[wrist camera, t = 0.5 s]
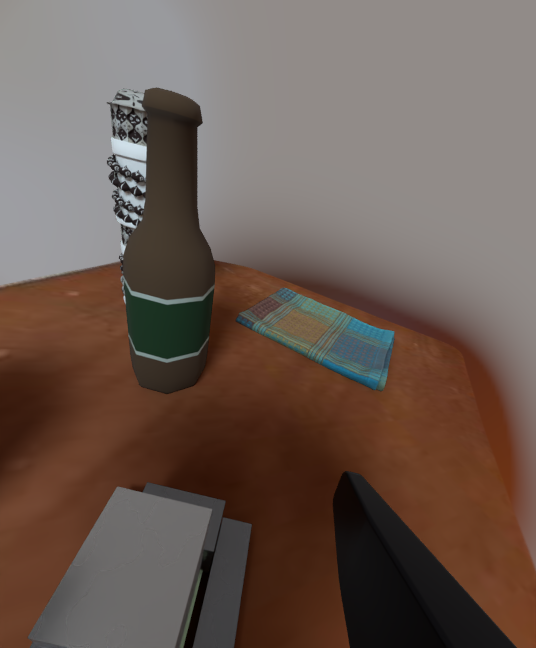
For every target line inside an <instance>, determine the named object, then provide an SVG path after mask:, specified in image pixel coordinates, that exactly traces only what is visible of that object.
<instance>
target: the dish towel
mask: <svg viewBox="0 0 536 648" xmlns="http://www.w3.org/2000/svg"><path fill="white" fill-rule="evenodd" d="M236 322H238V323H240V324H242V325H244V326H246V327H248V328H250V329H251V330H253V331H255V332H257V333H259V334H261V335H263V336H265V337H268V338H270V339H272V340H274V341H276V342H278V343H280V344H282V345H284V346H286V347H287V348H290V349H292V350H294V351H296V352H298V353H299V354H302V355H304V356H305V357H307V358H309V359H311V360H313V361H315V362H317V363H319V364H321V365H323V366H325V367H327V368H328V369H331V370H333V371H335V372H337V373H339V374H341V375H343V376H345V377H347V378H349V379H351V380H354V381H356V382H359V383H361V384H363V385H365V386H367V387H369V388H371V389H373V390H376V389H377V390H380V391H383V389H384V387H385V384H386V380H387V373H388V367H389V362H390V357H391V353H392V347H393V343H394V340H395V338H394V331H389V330H382V329H379V328H376V327H373V326H370V325H368V324H366V323H363V322H361V321H359V320H358V319H355V318H353V317H351V316H349V315H347V314H345V313H343V312H341V311H338V310H336V309H333V308H331V307H328V306H325V305H323V304H321V303H318V302H316V301H314V300H313V299H310V298H307V297H305V296H302V295H300V294H297V293H295V292H293V291H291V290H289V289H287V288H282V289H280V290H279V291H277V292H276V293H274V294H272V295H270V296H269V297H267V298H266V299H264V300H262V301H261V302H259V303H257V304H256V305H254V306H253V307H251V308H249V309H248V310H246V311H244V312H240V313H239V315H238V317H237V318H236Z"/></svg>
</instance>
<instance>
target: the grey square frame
mask: <svg viewBox="0 0 536 648" xmlns="http://www.w3.org/2000/svg"><path fill="white" fill-rule="evenodd" d="M142 493H147V494H151V495H155V496H159V497H163V498H168V499H172V500H176V501H180V502H184V503H188V504H193V505H197V506H201V507H205V508H209V509H212V513H211V518H210V523H209V528H208V533H207V538H206V543H205V548H204V553H203V558H202V562H201V567H200V569H201V570H203V572H205V573H208V572H209V568H210V564H211V560H212V556H213V553H214V548H215V544H216V540H217V536H218V531H219V527H220V523H221V519H222V514H223V510H224V506H225V502H226V501H224V500H220V499H215V498H211V497H207V496H203V495H199V494H194V493H190V492H186V491H182V490H178V489H173V488H169V487H165V486H161V485H157V484H152V483H148V482H147V484H146V486H145V488H144V490H143V492H142ZM251 526H252V524H249V523H245V522H241V521H236V520H232V519H228V518H224V517H223V520H222V523H221V528H220V532H219V536H218V541H217V545H216V549H215V553H214V558H213V562H212V566H211V571H210V575H209V579H208V583H207V588H206V592H205V596H204V601H203V605H202V609H201V613H200V618H199V622H198V626H197V631H196V635H195V639H194V643H193V648H234V643H235V636H236V629H237V622H238V616H239V609H240V602H241V595H242V588H243V581H244V574H245V568H246V561H247V554H248V547H249V540H250V533H251ZM30 648H40V647H39V646H38V645H36V644H35V643H34V642H33V643H32V645H31V646H30Z"/></svg>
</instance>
